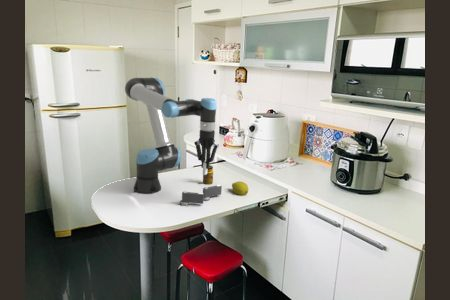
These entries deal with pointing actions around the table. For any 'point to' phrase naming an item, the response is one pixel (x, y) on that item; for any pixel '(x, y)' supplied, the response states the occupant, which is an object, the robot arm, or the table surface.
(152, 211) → the table surface
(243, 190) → the lemon
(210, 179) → the condiment
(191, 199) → the grey lever handle
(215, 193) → the grey lever handle
